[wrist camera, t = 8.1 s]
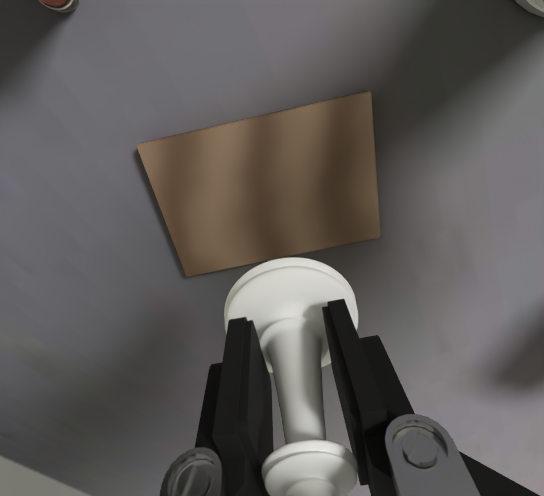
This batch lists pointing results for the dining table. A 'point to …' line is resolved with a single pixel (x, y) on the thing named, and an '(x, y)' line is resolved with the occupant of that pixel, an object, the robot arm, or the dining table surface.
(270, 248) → the walnut board
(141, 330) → the dining table surface
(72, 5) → the lighter
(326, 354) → the chess piece
